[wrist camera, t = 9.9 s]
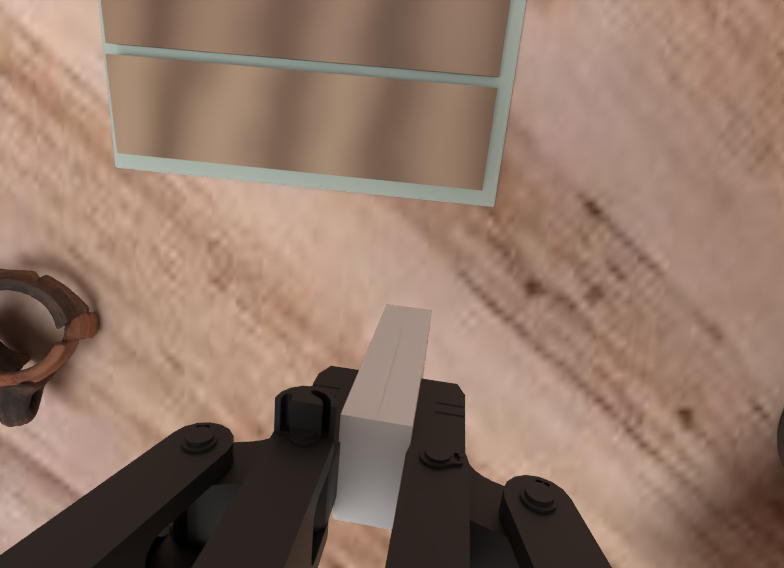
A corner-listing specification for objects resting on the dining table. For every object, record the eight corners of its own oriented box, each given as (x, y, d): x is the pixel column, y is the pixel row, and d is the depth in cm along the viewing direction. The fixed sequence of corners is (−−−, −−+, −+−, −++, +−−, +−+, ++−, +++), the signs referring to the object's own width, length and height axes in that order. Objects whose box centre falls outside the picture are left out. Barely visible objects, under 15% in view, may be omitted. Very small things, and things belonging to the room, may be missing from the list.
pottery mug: (-32, 268, 40) (-91, 272, 32) (102, 261, 43) (79, 262, 35) (-15, 416, 41) (-67, 454, 33) (116, 398, 44) (96, 429, 36)
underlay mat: (551, -163, 26) (552, -166, 26) (493, 205, 33) (494, 207, 33) (83, -187, 28) (78, -191, 28) (119, 166, 35) (115, 167, 35)
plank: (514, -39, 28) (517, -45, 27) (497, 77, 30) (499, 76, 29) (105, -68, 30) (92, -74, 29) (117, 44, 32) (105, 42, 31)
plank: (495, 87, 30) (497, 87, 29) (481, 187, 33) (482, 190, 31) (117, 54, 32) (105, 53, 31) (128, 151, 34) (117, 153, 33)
